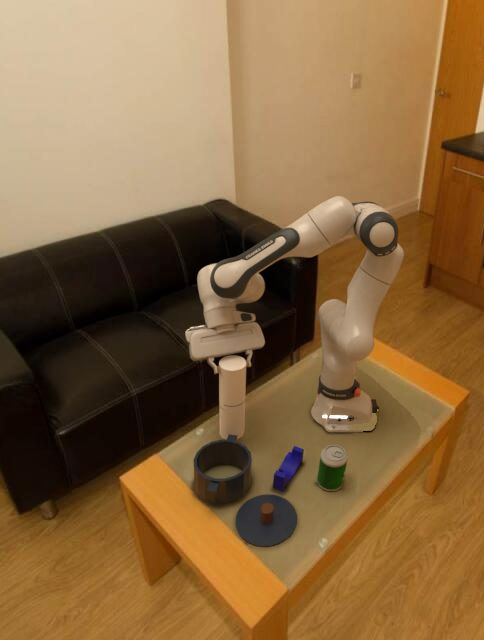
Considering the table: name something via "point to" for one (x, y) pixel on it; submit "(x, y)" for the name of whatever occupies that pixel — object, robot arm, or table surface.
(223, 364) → the cylindrical container
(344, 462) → the soda can
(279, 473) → the cable clip
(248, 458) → the pot
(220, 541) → the table surface
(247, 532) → the pot lid
